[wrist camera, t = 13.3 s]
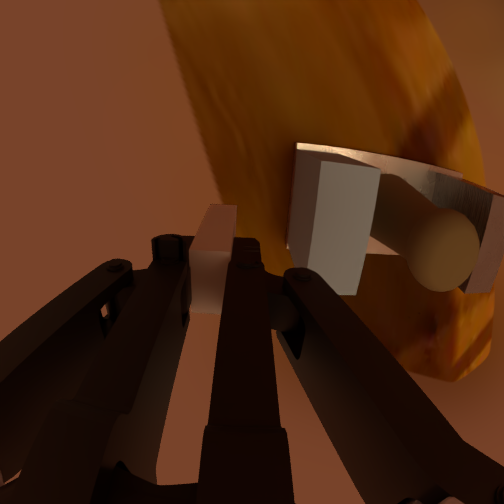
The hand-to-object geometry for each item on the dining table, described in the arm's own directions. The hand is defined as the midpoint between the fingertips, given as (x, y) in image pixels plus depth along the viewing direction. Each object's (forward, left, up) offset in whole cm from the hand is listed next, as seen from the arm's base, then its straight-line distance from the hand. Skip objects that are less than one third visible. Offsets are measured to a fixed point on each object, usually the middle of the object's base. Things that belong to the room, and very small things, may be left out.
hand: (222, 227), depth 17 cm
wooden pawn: (0, +13, -7) cm, 15 cm away
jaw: (0, +7, -7) cm, 10 cm away
